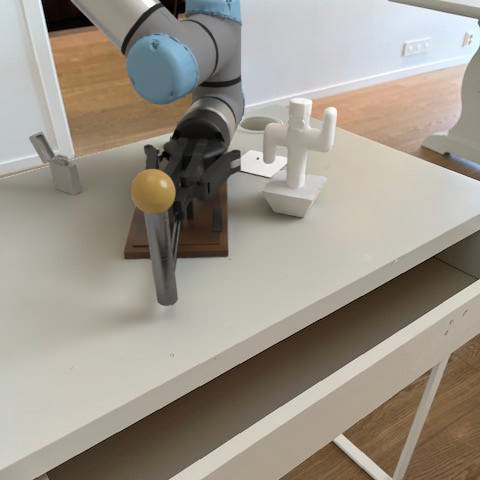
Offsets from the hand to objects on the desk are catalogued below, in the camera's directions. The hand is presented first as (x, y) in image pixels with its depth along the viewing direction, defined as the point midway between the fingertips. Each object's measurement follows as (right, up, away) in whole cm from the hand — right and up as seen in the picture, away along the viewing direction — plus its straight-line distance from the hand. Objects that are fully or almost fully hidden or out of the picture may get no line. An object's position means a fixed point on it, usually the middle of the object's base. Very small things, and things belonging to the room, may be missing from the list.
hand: (158, 221), depth 54 cm
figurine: (+16, +6, +20) cm, 26 cm away
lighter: (-19, +10, +25) cm, 33 cm away
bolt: (0, +4, +15) cm, 16 cm away
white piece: (+12, +15, +31) cm, 36 cm away
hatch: (0, +7, +21) cm, 22 cm away
